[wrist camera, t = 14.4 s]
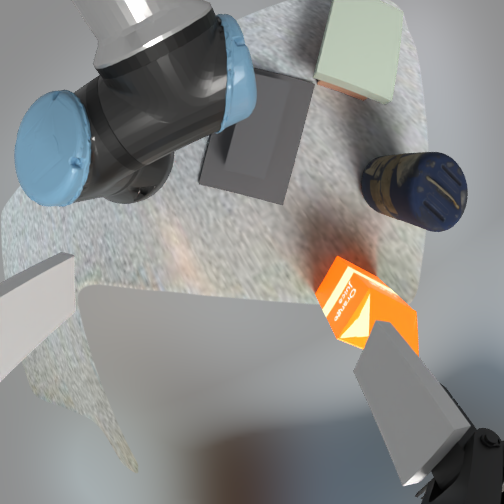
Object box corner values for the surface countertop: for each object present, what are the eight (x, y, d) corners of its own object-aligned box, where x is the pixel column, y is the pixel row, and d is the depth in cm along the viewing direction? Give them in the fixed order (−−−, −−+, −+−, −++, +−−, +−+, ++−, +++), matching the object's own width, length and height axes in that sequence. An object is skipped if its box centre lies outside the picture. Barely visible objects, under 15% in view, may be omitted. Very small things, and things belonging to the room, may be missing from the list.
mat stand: (199, 183, 43) (190, 185, 37) (233, 65, 38) (229, 49, 32) (282, 204, 44) (286, 209, 38) (313, 85, 39) (322, 72, 33)
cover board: (312, 77, 33) (316, 71, 31) (334, -8, 29) (337, -16, 27) (384, 104, 34) (391, 101, 32) (397, 17, 30) (403, 11, 27)
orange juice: (354, 313, 49) (400, 382, 29) (314, 294, 48) (347, 365, 28) (377, 275, 47) (438, 331, 28) (337, 254, 46) (388, 305, 27)
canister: (384, 144, 41) (448, 132, 24) (417, 187, 43) (486, 197, 25) (346, 183, 43) (400, 188, 26) (382, 225, 45) (443, 252, 27)
